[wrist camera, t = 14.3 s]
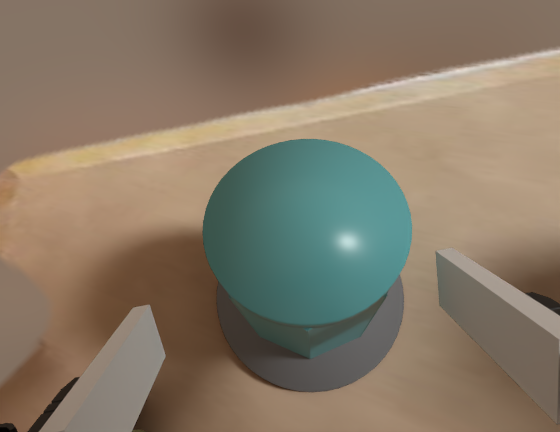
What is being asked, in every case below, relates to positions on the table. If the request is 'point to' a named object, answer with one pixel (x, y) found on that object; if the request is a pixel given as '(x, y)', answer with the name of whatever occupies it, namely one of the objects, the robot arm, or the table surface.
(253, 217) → the teal piece
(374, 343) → the coaster
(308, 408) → the table surface
